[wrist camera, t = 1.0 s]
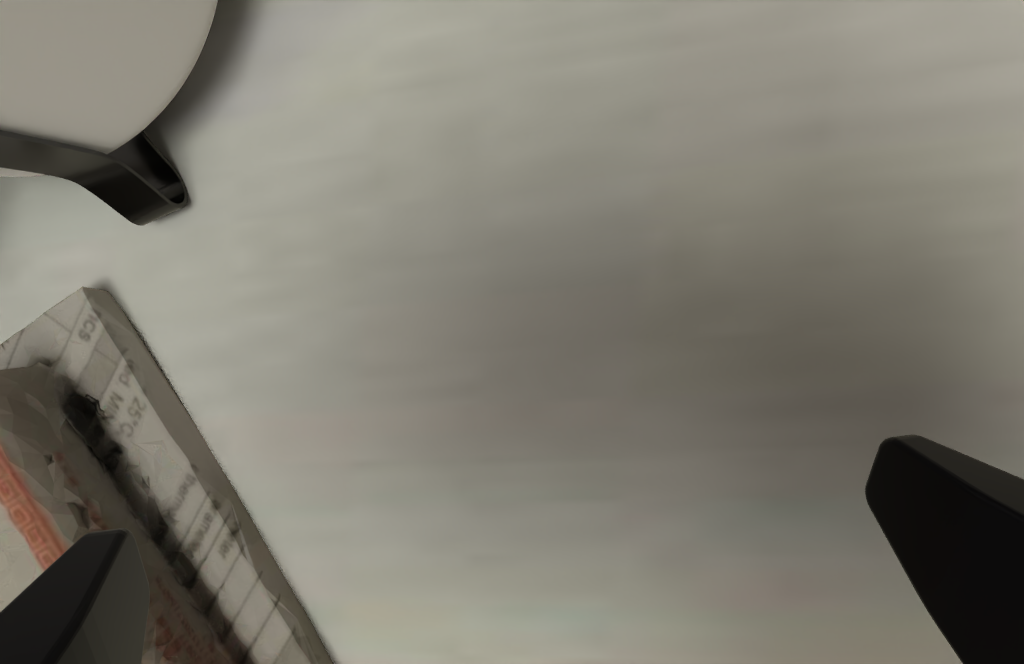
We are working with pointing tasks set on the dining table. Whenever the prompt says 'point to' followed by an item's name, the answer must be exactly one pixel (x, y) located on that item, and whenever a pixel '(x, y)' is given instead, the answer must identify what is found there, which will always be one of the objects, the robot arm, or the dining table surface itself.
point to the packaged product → (134, 491)
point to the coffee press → (97, 94)
